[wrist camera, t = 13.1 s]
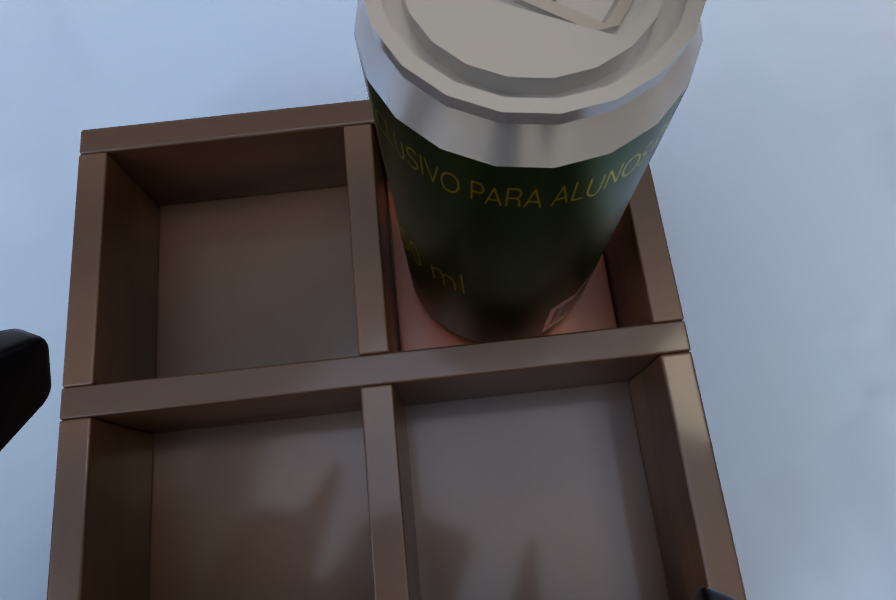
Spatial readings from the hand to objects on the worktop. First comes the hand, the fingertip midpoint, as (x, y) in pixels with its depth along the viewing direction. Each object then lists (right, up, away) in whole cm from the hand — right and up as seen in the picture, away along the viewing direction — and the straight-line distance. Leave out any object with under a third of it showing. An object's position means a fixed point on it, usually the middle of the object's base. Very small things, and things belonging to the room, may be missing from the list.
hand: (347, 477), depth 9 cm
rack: (0, -1, +12) cm, 12 cm away
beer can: (+3, +3, +12) cm, 13 cm away
